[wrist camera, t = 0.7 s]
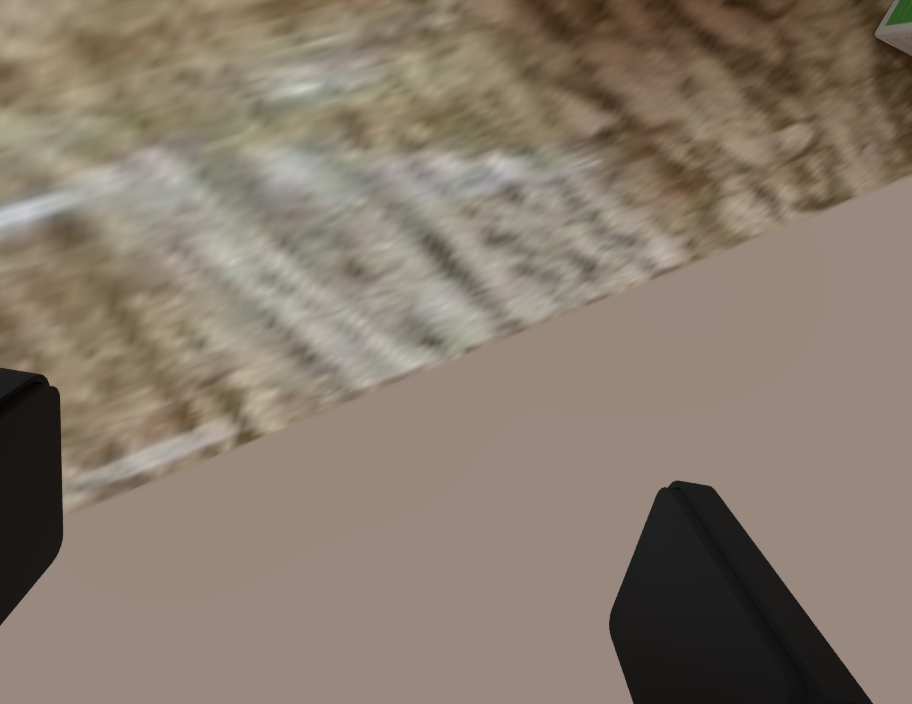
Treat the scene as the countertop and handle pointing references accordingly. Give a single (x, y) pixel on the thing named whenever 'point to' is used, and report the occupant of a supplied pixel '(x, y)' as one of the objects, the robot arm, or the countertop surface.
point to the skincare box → (897, 26)
